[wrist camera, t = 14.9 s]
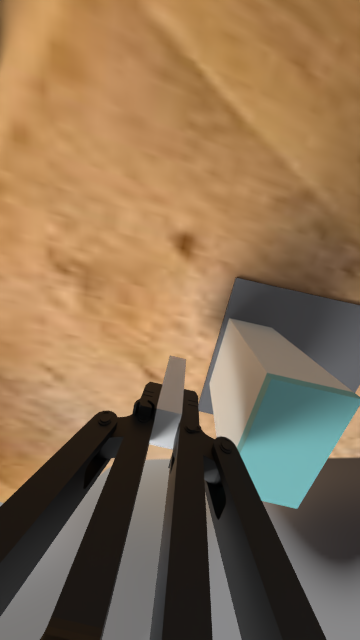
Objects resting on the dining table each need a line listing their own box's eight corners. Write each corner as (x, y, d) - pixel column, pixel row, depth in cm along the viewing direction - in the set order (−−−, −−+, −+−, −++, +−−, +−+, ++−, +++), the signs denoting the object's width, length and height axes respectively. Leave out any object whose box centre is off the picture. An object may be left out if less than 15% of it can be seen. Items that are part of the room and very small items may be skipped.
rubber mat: (235, 277, 21) (236, 277, 20) (394, 313, 21) (400, 314, 20) (197, 407, 26) (197, 410, 25) (324, 436, 26) (327, 440, 25)
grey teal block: (229, 318, 21) (271, 378, 10) (271, 327, 21) (363, 399, 10) (209, 383, 24) (224, 492, 13) (247, 392, 24) (297, 508, 13)
